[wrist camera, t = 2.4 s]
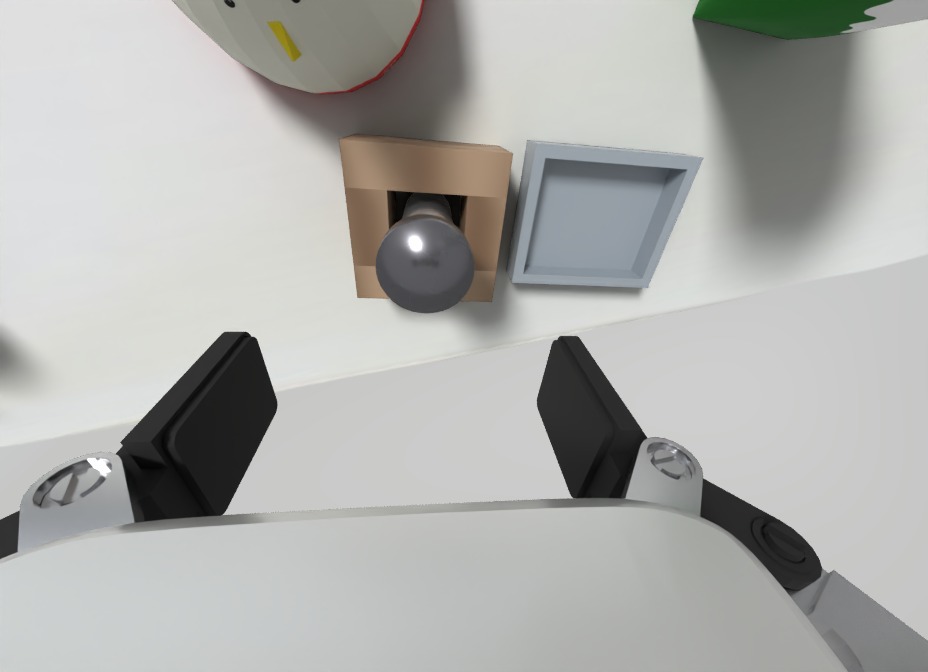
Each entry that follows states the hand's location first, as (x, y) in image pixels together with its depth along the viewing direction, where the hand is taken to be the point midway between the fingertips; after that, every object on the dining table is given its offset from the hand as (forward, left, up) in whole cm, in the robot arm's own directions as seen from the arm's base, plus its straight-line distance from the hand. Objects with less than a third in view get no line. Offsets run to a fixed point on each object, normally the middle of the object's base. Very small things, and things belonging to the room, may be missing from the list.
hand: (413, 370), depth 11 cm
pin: (0, 0, -19) cm, 19 cm away
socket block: (0, 0, -19) cm, 19 cm away
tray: (-13, -1, -19) cm, 23 cm away
